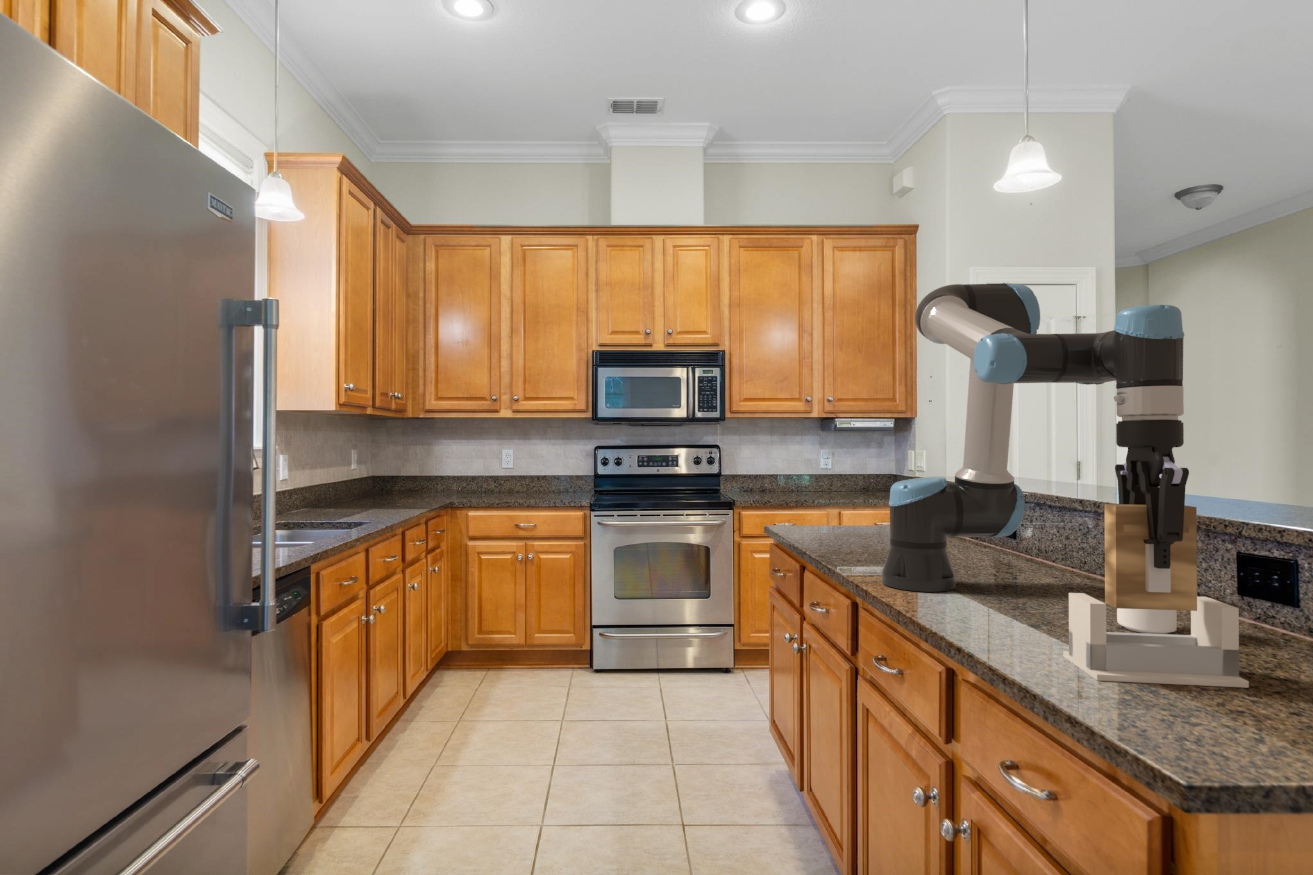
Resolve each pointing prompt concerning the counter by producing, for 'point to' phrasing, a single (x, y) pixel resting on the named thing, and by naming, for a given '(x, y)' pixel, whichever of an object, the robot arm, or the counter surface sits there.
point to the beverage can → (1148, 620)
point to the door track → (1157, 647)
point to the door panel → (1128, 561)
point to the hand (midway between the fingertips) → (1150, 588)
